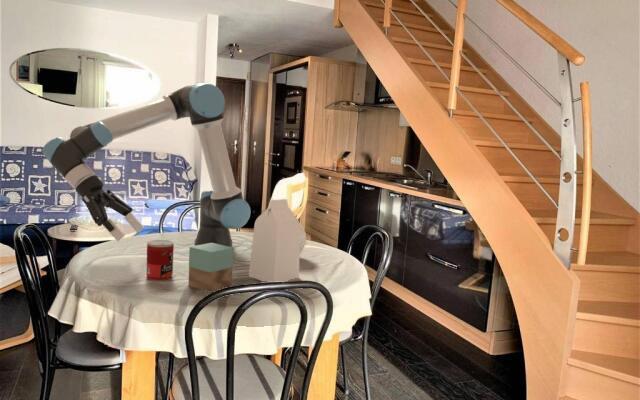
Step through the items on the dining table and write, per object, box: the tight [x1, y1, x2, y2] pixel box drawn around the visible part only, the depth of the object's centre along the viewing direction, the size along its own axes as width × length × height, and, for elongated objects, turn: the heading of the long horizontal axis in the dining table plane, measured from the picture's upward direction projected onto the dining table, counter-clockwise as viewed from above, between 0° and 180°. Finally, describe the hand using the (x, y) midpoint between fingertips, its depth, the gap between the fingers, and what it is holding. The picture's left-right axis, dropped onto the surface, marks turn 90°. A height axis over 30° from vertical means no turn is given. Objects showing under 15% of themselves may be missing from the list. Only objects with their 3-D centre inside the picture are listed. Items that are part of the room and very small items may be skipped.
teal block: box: [188, 243, 234, 273], centre depth 144 cm, size 9×9×6 cm
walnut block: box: [187, 266, 233, 292], centre depth 145 cm, size 9×9×6 cm
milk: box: [248, 198, 301, 282], centre depth 158 cm, size 12×12×26 cm
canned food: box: [146, 239, 175, 281], centre depth 150 cm, size 8×8×11 cm
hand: (131, 234), depth 149 cm, fingers open, 13 cm apart
